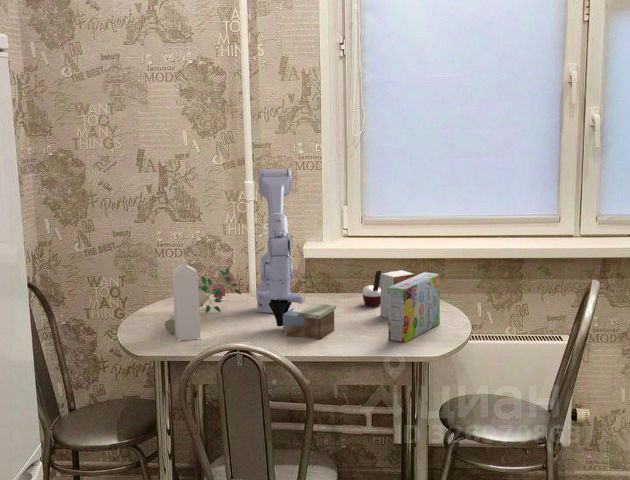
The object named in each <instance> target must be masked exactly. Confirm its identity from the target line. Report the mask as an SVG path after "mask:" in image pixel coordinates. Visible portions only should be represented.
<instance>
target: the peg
mask: <svg viewBox="0 0 630 480" xmlns="http://www.w3.org/2000/svg"><path fill="white" fill-rule="evenodd" d="M298 312H299V311H296V310H295V311H294V310H290V311H288V312H286V313H284V314H283V326H282V331H283V332H285V333H286V326H297V327H305V323H304V317H299V316H298Z"/></svg>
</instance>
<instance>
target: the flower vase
mask: <svg viewBox="0 0 630 480" xmlns="http://www.w3.org/2000/svg"><path fill="white" fill-rule="evenodd" d="M219 272H220V273H221V275H222V276H223V279H224V281H225V282H224V283H223V284H221V283H220V284H219V283H217V284H215V285H214V286H213V287H212V288H213V289H212V288H211V292H210V289H209V288H210V286H211V285H212V284H213V282H212V280H211V279H210V277H208V278H207V279H206V278H205V276H203V275H202V277H201V281H202V285H203V286H198V294H199V308H200V307H201V308H202V307H203V306H204V304H205V303H206V302H208V301H209V299H210V296H211V295H212V296H213V297H214V298H215V299H214V302H215V303H222V302H223V297H226V288H228V289H230V290H232V291H234V292H235V293H236V294H238V295H242V292H241V291H240V290H239V289H237V288H235V289H232V287H236V286H238V285H239V284H238V283H232V282H234V278H233V277H234V276H233V275H232V274H230V269H229V267H227V268H226V269H225V271H223V270H221V269H219ZM206 284H207V285H208V286H209V287H208V286H207V285H206ZM226 284H232V285H231V287H229V286H228V287H227V286H225V285H226ZM205 291H206V292H205ZM207 292H208V294H207ZM210 304H212V301H209V304H208V305H206V307H205V314H207V313H208V312H210V310H211V308H212V307H213V309H214V310H216V311H217V312H218V313H222V311H221V309H220V307H219V306H218V305H217V306H214V305H212V307H211V306H210ZM164 329H165V330H166V332H167V333H169V334H170V333H173V334H172V335H174V334H175V315H174V314H173V315H172V316H171V317H170V318H169V319H167V320H166V321H165V323H164Z"/></svg>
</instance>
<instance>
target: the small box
mask: <svg viewBox="0 0 630 480" xmlns="http://www.w3.org/2000/svg"><path fill="white" fill-rule="evenodd" d="M414 276H415V273H412V272H409V271H405V270H402V269H401V270H395V271H389V272H384V273H382V272H381V276H380V289H381V304H380V316H383V317H385V318H388V287H390V286H392V285H395V284H397V283H400V282H402V281H405V280H407V279H409V278H412V277H414Z"/></svg>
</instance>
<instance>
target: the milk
mask: <svg viewBox="0 0 630 480" xmlns="http://www.w3.org/2000/svg"><path fill="white" fill-rule="evenodd" d="M198 287H199V272H198V271H197V270H196V269H195V268H194V267H192V266H190V265H188V264H187V260H186V259H185V258H184V257H182V263H180V264H179V265H177V266H176V267H174V268H173V269H172V289H173V290H172V291H173V310H174V311H173V313H174V314H173V315H175V338H176V339H177V338H178V339H177V340H187V341H190V340H189V339H196V340H198V339H197V338H200V339H201V325H200V324H201V320H200V307H199V294H198Z"/></svg>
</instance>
